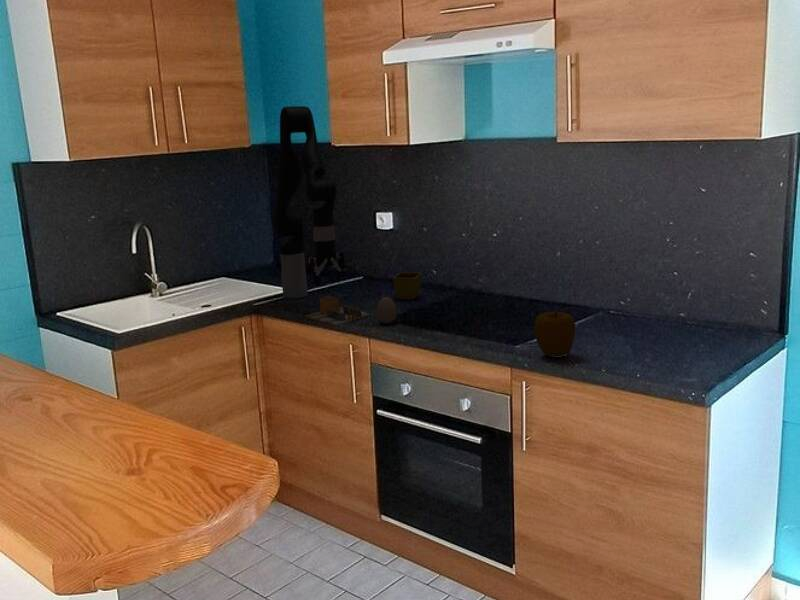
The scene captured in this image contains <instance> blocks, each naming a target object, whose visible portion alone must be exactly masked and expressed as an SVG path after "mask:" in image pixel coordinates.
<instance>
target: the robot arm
mask: <svg viewBox="0 0 800 600" xmlns="http://www.w3.org/2000/svg"><path fill="white" fill-rule="evenodd" d="M315 126H316V125H315V121H314V116H313V113H312V110H311V109H310V108H309V106H296V105H293V106H284V107H282V108H281V110H280V114H279V157H278V166H277V167H278V168H277V185H276V187H277V188H276V198H275V199H276V201H275V205H274V213H273V222H272V225H273V232H274V234H275V235H276V236H277V237H281V238H283V237H291V238H290V239H289V240H288V241H287V242H286V243H284V244H282V245H281V246H280V247H279V255H280V266H281V273H280V275H281V277H280V278H281V288H282V295H283V298H285V299H300V298H301V299H302V298H305V297H307V296H308V283H307V275H309V276H312V278H313V285H314V286H315V287H318V288H319V287H320V286H321V280H320V279H321V278H320V273H321V271H323V270H324V269H326V268H331V267H332V269H333V270H334V272H333V273H334V281H335V282H336V283H339V282H341V279H342V277H341V274H342V273H341V271H342V270H344V269H346V262H345V255H344V252H342V251H337V247H336V246H337V245H336V244H337V242H336V231H335V223H334V210H335V202H336V199H337V193H338V189H337V184H336V183H335V182H334V181H333V180H331V179H323V177H325V176H326V169H325V166H324V163H323V160H322V157H321V154H320V149H319V145H318V137H317V132H316V127H315ZM299 133H300V134H301V133H304V134H305V136H306V138H305V143H304V146H303V148H302V149H301V150H302V151H301V153H300V156H299V154H298V153H297V151H296V150H295V148H294V146H293V143H292V134H299ZM304 175H305V176H304ZM303 177H305V197H306V198H307V199H308V200H309V201H310V202H313V203H316V202H318V203H319V202H324V204H322V206H319V207H318V208H314V209H313V210H312V222H313V229H312V234H313V235H312V238H313V247H314V253H315V254H314V255H315V256H314V257H307V260H305V250H304V249H305V239H304V238H305V237H304V232H305V231H304V230H305V229H304V217H303V215H302V213H301V212H300V211H298V210H292V211H290V210H289V211H288V208H289V206H290V203H291V201H292V200H293V199H294V197H295V195H296V194H297V193H298V192H299V190H300V188H301V186H302V184H303ZM322 179H323V180H322ZM336 251H337V252H336ZM336 259H337V261H336ZM306 261H307V262H306ZM306 263H307V264H306ZM306 265H307V270H306ZM306 271H307V273H306Z"/></svg>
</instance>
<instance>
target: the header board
mask: <svg viewBox="0 0 800 600" xmlns="http://www.w3.org/2000/svg"><path fill="white" fill-rule="evenodd" d="M339 311H340V312H339ZM339 311H335V310H331V309H328V310H327V314H324V313H321V311H318V312H314V313H310V314H305V318H308V319H310V320H315V321H317V322H321V323H325V324H328V325H331V326H338V325H342V324H346V323H351V322H354V321H355V322H356V321H359V320H361V319H365V318H370V317H373V313H368V312H365V311H362V308H358V306H357V305H356V306H350V305H345V304H344V305H342V306H339Z"/></svg>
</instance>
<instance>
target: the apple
mask: <svg viewBox="0 0 800 600" xmlns="http://www.w3.org/2000/svg"><path fill="white" fill-rule="evenodd" d="M575 333H576V322H575V318H574V317H573V315H572V314H570V313H566V312H561V311H548V312H543V313H541V314H539V315H538V316H537V318H536V320H535V323H534V336H535V340H536V343H537V344H538V347H539V349H540V351H541V353H542V354H543V353H544V354H543V355H545V354H547V355H551V356H552V355H553V356H561V355H565V354H568V355H570V352H571V350H572V348H573V347H572V346H573V344H574V341H575Z"/></svg>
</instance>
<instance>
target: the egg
mask: <svg viewBox="0 0 800 600" xmlns="http://www.w3.org/2000/svg"><path fill="white" fill-rule="evenodd" d="M397 311H398V310H397V306H396V304H395V302H394V300H393V299H392V298H390V297H388V296H384V297H382V298H381V299H380V300H379V302H378V303H377V307H376V314H377V315H376V316H377V318H378V319H379V321H380V322H381V323H383V324H384V325H385V324H386V325H389V324H392V323H393V322H394V320H395V319H396V317H397V314H398V312H397Z"/></svg>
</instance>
